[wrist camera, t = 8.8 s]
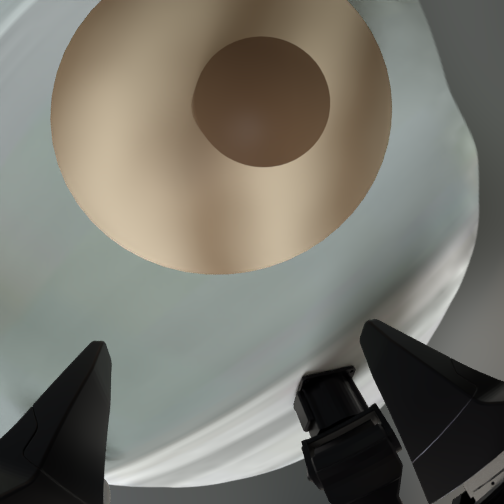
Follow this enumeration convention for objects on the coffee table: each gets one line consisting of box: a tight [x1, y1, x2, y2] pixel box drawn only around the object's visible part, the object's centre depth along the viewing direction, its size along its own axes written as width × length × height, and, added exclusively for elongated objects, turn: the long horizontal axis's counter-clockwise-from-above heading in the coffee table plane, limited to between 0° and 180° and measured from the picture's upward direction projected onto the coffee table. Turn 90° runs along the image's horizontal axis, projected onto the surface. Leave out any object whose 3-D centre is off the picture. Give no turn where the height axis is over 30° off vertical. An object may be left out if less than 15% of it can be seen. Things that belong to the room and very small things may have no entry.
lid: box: [51, 0, 392, 274], centre depth 9 cm, size 15×15×6 cm
